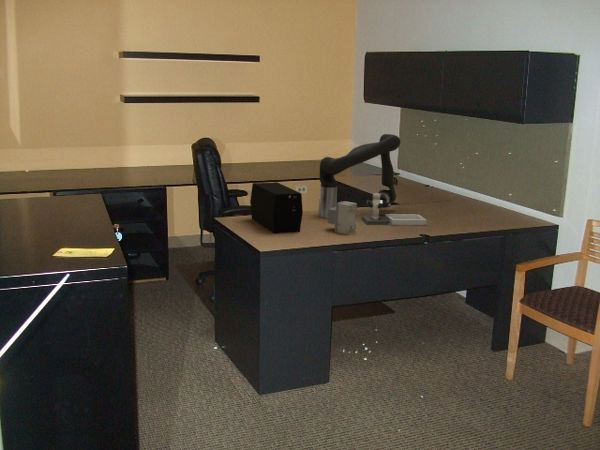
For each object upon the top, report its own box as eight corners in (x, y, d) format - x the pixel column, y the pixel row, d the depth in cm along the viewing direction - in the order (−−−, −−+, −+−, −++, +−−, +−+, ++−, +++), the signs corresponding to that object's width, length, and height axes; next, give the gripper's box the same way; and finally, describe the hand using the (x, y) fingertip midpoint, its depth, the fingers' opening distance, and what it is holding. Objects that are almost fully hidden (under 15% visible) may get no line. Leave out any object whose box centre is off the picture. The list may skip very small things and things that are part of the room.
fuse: (372, 221, 361) (374, 194, 358) (370, 219, 365) (372, 193, 361) (379, 221, 362) (381, 194, 358) (377, 219, 366) (379, 193, 362)
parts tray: (391, 225, 357) (392, 220, 357) (384, 219, 370) (385, 214, 370) (426, 225, 361) (426, 220, 360) (418, 219, 374) (418, 214, 373)
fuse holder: (367, 224, 357) (367, 221, 356) (361, 219, 368) (361, 215, 368) (388, 224, 359) (388, 221, 358) (382, 219, 370) (382, 216, 370)
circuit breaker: (332, 227, 348) (333, 199, 345) (355, 231, 341) (357, 203, 337) (324, 229, 342) (325, 201, 339) (348, 234, 335) (350, 205, 331)
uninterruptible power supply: (277, 217, 365) (278, 181, 360) (303, 232, 335) (304, 193, 330) (249, 219, 358) (250, 183, 353) (273, 234, 328) (274, 195, 324)
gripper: (369, 192, 376) (362, 198, 360) (394, 195, 372) (388, 201, 356) (368, 205, 378) (361, 211, 362) (393, 208, 373) (387, 214, 357)
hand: (374, 206), depth 359 cm, fingers closed on fuse, 3 cm apart
